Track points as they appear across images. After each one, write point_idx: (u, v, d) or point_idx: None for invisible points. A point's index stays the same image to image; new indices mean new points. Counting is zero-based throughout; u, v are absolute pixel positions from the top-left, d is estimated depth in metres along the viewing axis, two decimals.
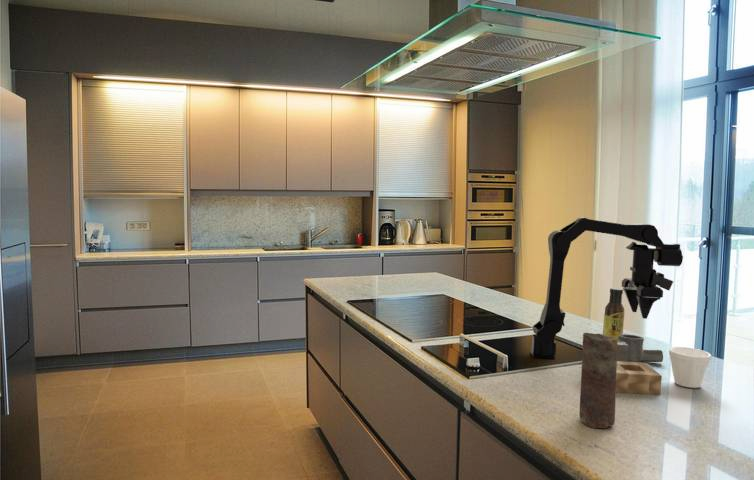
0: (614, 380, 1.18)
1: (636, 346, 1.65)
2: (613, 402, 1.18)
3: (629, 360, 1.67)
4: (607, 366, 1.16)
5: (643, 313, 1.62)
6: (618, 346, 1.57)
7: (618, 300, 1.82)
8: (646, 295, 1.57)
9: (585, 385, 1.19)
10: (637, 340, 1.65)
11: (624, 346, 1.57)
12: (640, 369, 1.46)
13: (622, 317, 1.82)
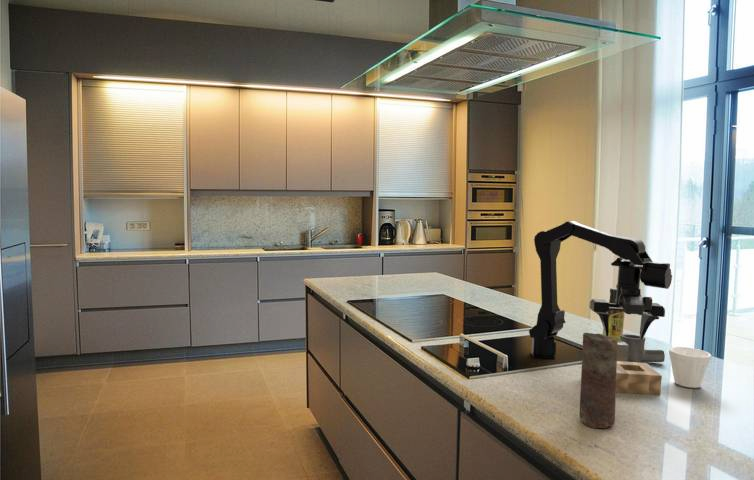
0: (614, 380, 1.18)
1: (638, 346, 1.65)
2: (613, 402, 1.18)
3: (631, 360, 1.66)
4: (607, 366, 1.16)
5: (604, 329, 1.55)
6: (618, 346, 1.57)
7: None
8: (590, 307, 1.56)
9: (585, 385, 1.19)
10: (639, 340, 1.65)
11: (624, 346, 1.57)
12: (640, 369, 1.46)
13: (622, 317, 1.82)
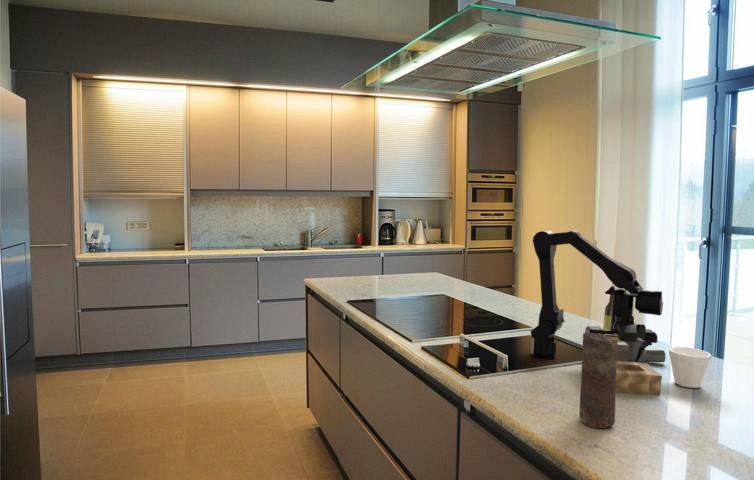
0: (614, 380, 1.18)
1: None
2: (613, 402, 1.18)
3: (631, 360, 1.66)
4: (607, 366, 1.16)
5: None
6: (618, 346, 1.57)
7: None
8: None
9: (585, 385, 1.19)
10: None
11: (624, 346, 1.57)
12: (640, 369, 1.46)
13: None
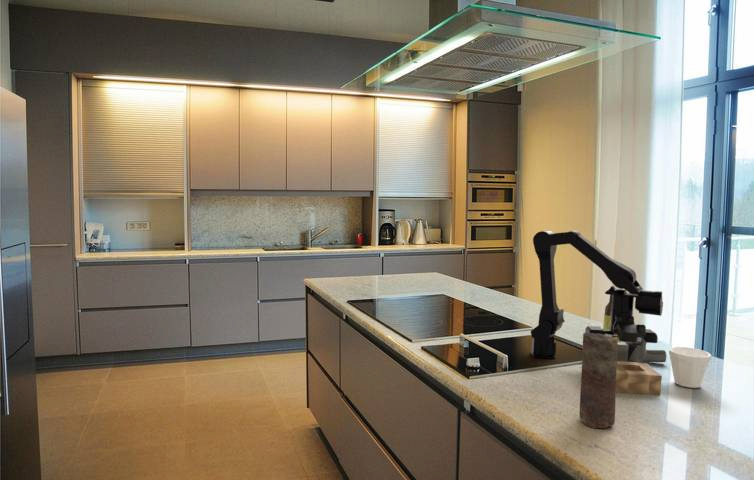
0: (614, 380, 1.18)
1: (639, 346, 1.65)
2: (613, 402, 1.18)
3: (632, 360, 1.66)
4: (607, 366, 1.16)
5: None
6: (618, 346, 1.57)
7: None
8: None
9: (585, 385, 1.19)
10: None
11: (624, 346, 1.57)
12: (640, 369, 1.46)
13: None
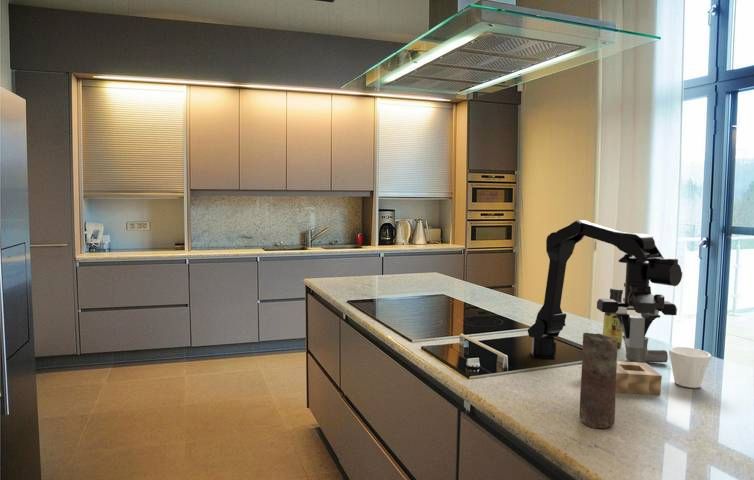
0: (614, 380, 1.18)
1: None
2: (613, 402, 1.18)
3: (633, 360, 1.66)
4: (607, 366, 1.16)
5: (623, 331, 1.46)
6: (633, 319, 1.43)
7: (618, 300, 1.82)
8: (597, 307, 1.47)
9: (585, 385, 1.19)
10: None
11: (640, 319, 1.43)
12: (640, 369, 1.46)
13: None
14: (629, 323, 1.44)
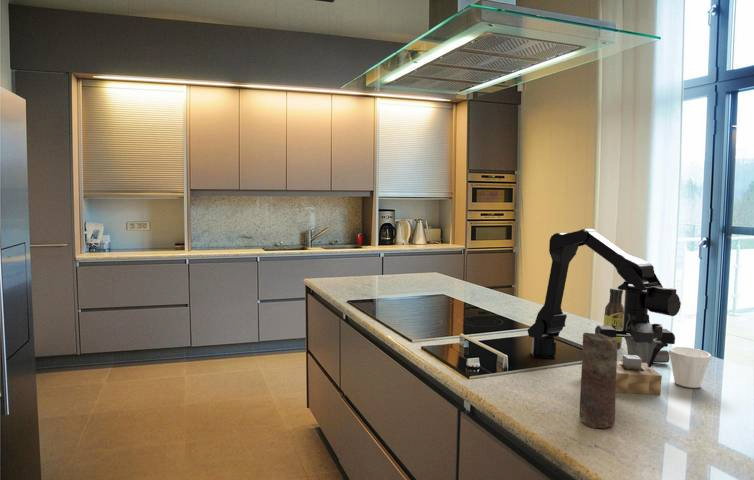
0: (614, 380, 1.18)
1: (642, 346, 1.65)
2: (613, 402, 1.18)
3: None
4: (607, 366, 1.16)
5: None
6: (630, 360, 1.43)
7: (618, 300, 1.82)
8: None
9: (585, 385, 1.19)
10: None
11: (637, 360, 1.43)
12: None
13: (622, 317, 1.82)
14: (626, 363, 1.44)
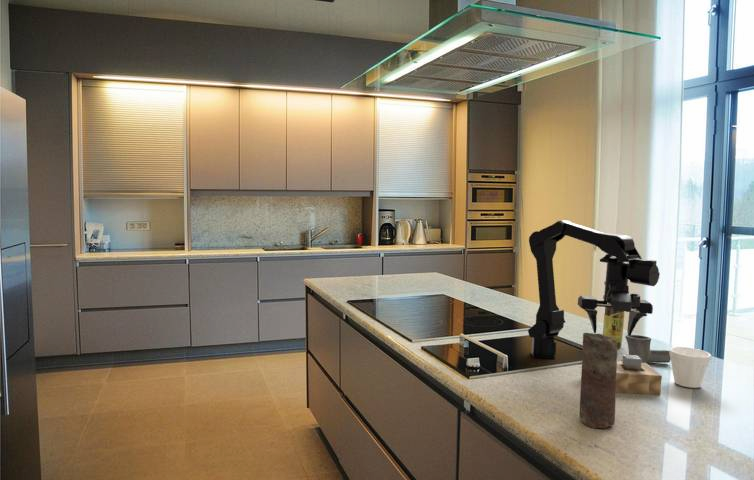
0: (614, 380, 1.18)
1: (643, 346, 1.65)
2: (613, 402, 1.18)
3: None
4: (607, 366, 1.16)
5: (592, 326, 1.54)
6: (630, 360, 1.43)
7: None
8: (578, 303, 1.55)
9: (585, 385, 1.19)
10: (644, 340, 1.65)
11: (637, 360, 1.43)
12: None
13: (622, 317, 1.82)
14: (626, 363, 1.44)
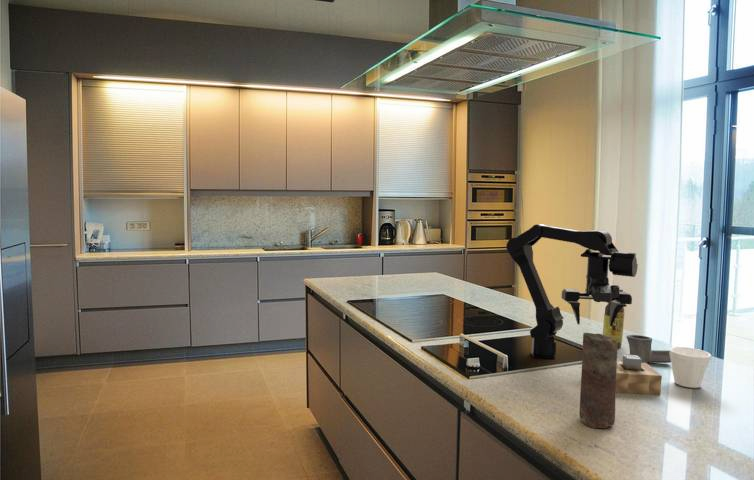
0: (614, 380, 1.18)
1: (644, 347, 1.65)
2: (613, 402, 1.18)
3: None
4: (607, 366, 1.16)
5: None
6: (630, 360, 1.43)
7: None
8: (562, 296, 1.63)
9: (585, 385, 1.19)
10: (645, 341, 1.65)
11: (637, 360, 1.43)
12: None
13: (622, 317, 1.82)
14: (626, 363, 1.44)
